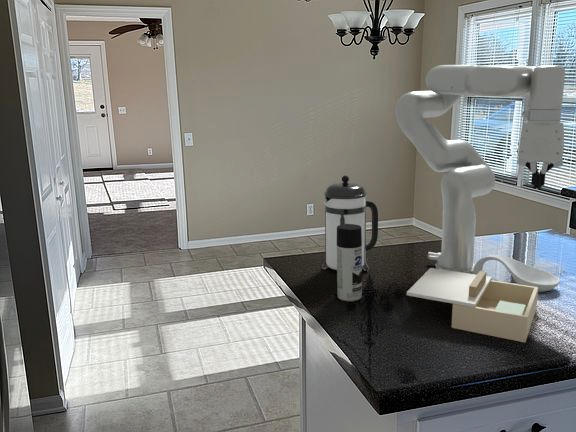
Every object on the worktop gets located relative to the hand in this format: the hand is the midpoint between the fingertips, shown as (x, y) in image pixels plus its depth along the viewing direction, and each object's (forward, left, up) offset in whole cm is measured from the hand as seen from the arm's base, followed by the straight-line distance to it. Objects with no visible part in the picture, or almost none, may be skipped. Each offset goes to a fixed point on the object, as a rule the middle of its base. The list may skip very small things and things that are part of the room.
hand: (537, 187), depth 137 cm
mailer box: (-5, -22, -29) cm, 36 cm away
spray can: (-42, -26, -29) cm, 57 cm away
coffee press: (-52, -5, -29) cm, 60 cm away
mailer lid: (-16, -22, -23) cm, 35 cm away
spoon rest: (-5, +6, -29) cm, 30 cm away
